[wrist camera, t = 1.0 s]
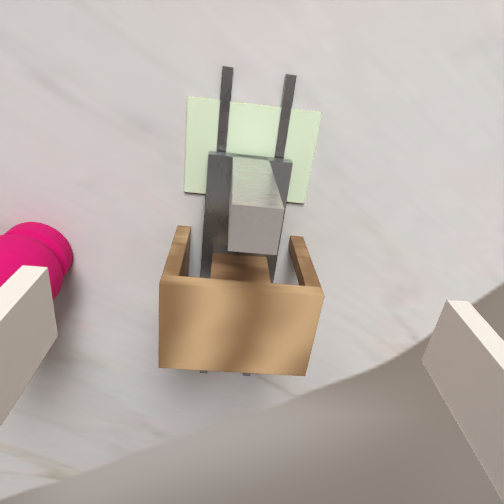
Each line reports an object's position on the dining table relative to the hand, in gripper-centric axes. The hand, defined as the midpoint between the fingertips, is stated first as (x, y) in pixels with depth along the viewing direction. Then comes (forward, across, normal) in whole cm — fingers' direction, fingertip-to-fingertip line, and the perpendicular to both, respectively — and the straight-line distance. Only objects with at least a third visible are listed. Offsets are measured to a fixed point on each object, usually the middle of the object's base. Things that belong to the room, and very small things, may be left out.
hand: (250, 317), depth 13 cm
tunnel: (+23, 0, -12) cm, 26 cm away
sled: (+22, 0, -9) cm, 24 cm away
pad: (+23, 0, 0) cm, 23 cm away
